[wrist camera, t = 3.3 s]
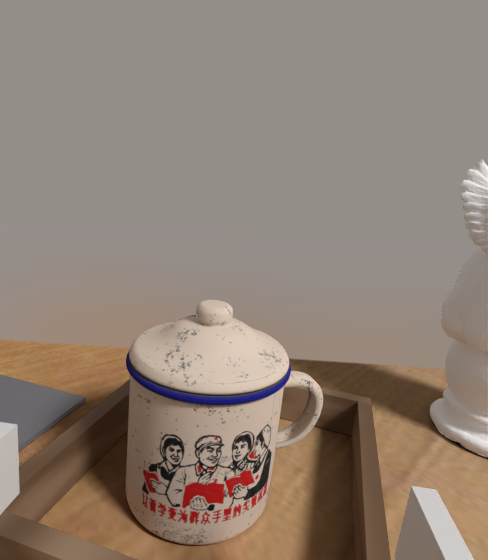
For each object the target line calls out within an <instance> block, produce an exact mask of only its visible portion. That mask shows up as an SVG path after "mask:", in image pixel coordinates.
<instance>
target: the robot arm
mask: <svg viewBox="0 0 488 560" xmlns="http://www.w3.org/2000/svg"><path fill="white" fill-rule="evenodd" d="M19 493H20V489H19V458H18V427H17V424H11V423H4V422H0V515H1V514H2V512H3V511H4V510H5V509H6V508H7V507H8V506H9V505H10V503H11V502H12V501H13V500H14V499H15V498H16V497H17V496H18V494H19ZM395 559H396V560H474V559H473V557H472V555H471V553H470V551H469V549H468V548H467V546H466V544H465V542H464V540H463V538H462V537H461V535H460V533H459V531H458V529H457V527H456V525H455V524H454V522H453V520H452V518H451V516H450V514H449V512H448V511H447V509H446V507H445V505H444V503H443V501H442V500H441V498H440V496H439V494H438V492H437V490H434V489H428V488H422V487H415V486H411V490H410V494H409V498H408V502H407V506H406V511H405V515H404V519H403V523H402V527H401V532H400V536H399V540H398V544H397V548H396V553H395Z"/></svg>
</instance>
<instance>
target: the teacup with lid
mask: <svg viewBox="0 0 488 560" xmlns="http://www.w3.org/2000/svg"><path fill="white" fill-rule="evenodd" d="M232 315H233V309H232V307H231V306H230V304H228V303H226V302H223V301H218V300H206V301H202V302H201V303H200V304H199V305H198V306H197V310H196V315H192V316H188V317H185V318H182V319H180V320H178V321H176V322H170V323H165V324H161V325H158V326H155V327H153V328H151V329H148V330H146V331H145V332H143V333H142V334H141V335H139V336H138V337H137V338H136V340H135V341H134V342H133V344H132V345H131V347H130V350H129V352H128V354H127V358H126V366H127V369H128V371H129V373H130V393H129V417H128V441H127V465H126V497H127V501H128V504H129V507H130V509H131V511H132V513H133V514H134V516H135V517H136V519H137V520H138V521H139V522H140V523H141V524H142V525H143V526H144V527H145V528H146V529H148V530H149V531H150V532H152V533H154V534H155V535H157V536H159V537H161V538H164V539H166V540H169V541H172V542H176V543H180V544H187V545H207V544H214V543H218V542H222V541H225V540H228V539H230V538H233V537H235V536H237V535H239V534H241V533H242V532H244V531H245V530H247V529H248V528H249V527H250V526H251V525H252V524H253V523H254V522H255V521H256V520H257V519H258V518H259V516H260V515H261V514H262V512H263V510H264V508H265V506H266V503H267V500H268V496H269V490H270V483H271V475H272V468H273V461H274V454H275V449H279V448H284V447H288V446H291V445H293V444H295V443H297V442H299V441H300V440H302V439H303V438H304V437H305V436H306V435H307V434H308V433H309V432H310V431H311V430H312V428H313V427H314V426H315V424H316V422H317V420H318V418H319V416H320V414H321V410H322V406H323V393H322V390H321V388H320V386H319V385H318V384H317V382H316V381H315V380H314V379H313V378H312V377H310V376H309V375H307V374H305V373H303V372H299V371H291V367H290V363H289V358H288V355H287V353H286V351H285V349H284V348H283V347H282V346H281V344H280V343H279V342H277V341H276V340H275V339H273V338H272V337H270V336H269V335H267V334H265V333H263V332H261V331H258V330H256V329H253V328H250V327H249V326H247V325H246V324H244V323H243V322H241V321H239V320H236V319H234V318H232ZM289 387H302V388H306V389H308V399H307V403H306V406H305V408H304V410H303V412H302V413H301V415H300V416H299V418H298V419H297V420H296V421H295V422H294V423H293V424H291V425H290V426H288V427H286V428H284V429H281V430H278V426H279V419H280V412H281V405H282V398H283V391H284V388H289Z"/></svg>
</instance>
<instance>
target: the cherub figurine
mask: <svg viewBox="0 0 488 560" xmlns="http://www.w3.org/2000/svg"><path fill="white" fill-rule="evenodd" d="M466 175H467V180H463V181H462V182H461V184H460V189H462V191H463V192H464V193H462V194H461V198H462V200H464V201H465V204H464V205H463V208H464V210H465V211H468V213H467V214H466V215H465V216H464V219H465V221H466V222H467V224H466V228H467V229H468V230H469V231H470V233H469V237H470V238H471V240H473V241H474V244H475V245H479V246H480V247H479V248H478V249H477V250H476V251H475V252H474V253H473V254H472V255H471V256H470V257H469V258H468V260H467V261H466V262H465V264H464V265H463V267H462V269H461V271H460V273H459V275H458V278H457V281H456V284H455V286H454V288H453V289H452V291H451V292H450V294H449V295H448V296H447V298H446V299H445V301H444V303H443V306H442V319H441V323H442V328H443V330H444V332H445V333H446V334H447V335H448V336H449V337H451V338H454V339H455V341H454V342H453V344H452V345H451V347H450V349H449V351H448V354H447V358H446V378H447V382H448V385H449V386H448V387H446V388H445V390H444V392H443V398H440V399H438V400H436V401H434V402H433V403H432V404H431V406H430V416H431V419H433V420H432V421H433V422H434V424H435V426H436V427H437V429H438V431H439V432H440V433H441V434H443V435H444V436H445V437H446V438H447V437H448V438H449V439H451V440H452V441H454V442H455V441H456V442H459V443H460V444H462V446H464V447H465V448H466V449H468V450H471V451H472V452H475V453H477V454H478V455H481V456H484V457H487V458H488V166H487V165H486V164H484V161H483V160H481V161H480V162H479V163H478V164H477V165H476V166H475V167H474V170H473V169H470V170H468V171H467V173H466Z"/></svg>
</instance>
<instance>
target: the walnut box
mask: <svg viewBox="0 0 488 560" xmlns="http://www.w3.org/2000/svg"><path fill="white" fill-rule="evenodd" d="M320 388H321V390H322V393H323V406H322V410H321V414H320V416H319V418H318V420H317V422H316V424H315V427H319V428H323V429H327V430H331V431H335V432H339V433H343V434H347V435H351V437H352V486H353V536H354V560H391V558H390V550H389V542H388V534H387V526H386V518H385V510H384V502H383V494H382V486H381V478H380V470H379V461H378V453H377V445H376V437H375V429H374V421H373V413H372V405H371V398H368V397H363V396H359V395H354V394H350V393H345V392H341V391H336V390H332V389H327V388H323V387H320ZM129 393H130V380H129V381H128V382H126V383H125V384H124V385H122V386H121V387H120V388H119V389H117V390H116V391H115V392H114V393H112V394H111V395H110V396H109V397H107V398H106V399H105V400H104V401H102V402H101V403H100V404H99V405H97V406H96V407H95V408H94V409H92V410H91V411H90V412H89V413H87V414H86V415H85V416H84V417H82V418H81V419H80V420H79V421H77V422H76V423H75V424H74V425H72V426H71V427H70V428H69V429H67V430H66V431H65V432H64V433H62V434H61V435H60V436H59V437H57V438H56V439H55V440H53V441H52V442H51V443H50V444H48V445H47V446H46V447H45V448H43V449H42V450H41V451H40V452H38V453H37V454H36V455H35V456H33V457H32V458H31V459H30V460H28V461H27V462H26V463H25V464H23V465H22V466H21V467H20V468H19V489H20V493H19V494H18V496H17V497H16V498H15V499H14V500H13V501H12V502H11V503H10V505H9V506H8V507H7V508H6V509H5V510H4V511H3V512H2V514H1V515H0V560H137V559H134V558H132V557H129V556H126V555H124V554H121V553H118V552H116V551H113V550H110V549H107V548H105V547H102V546H99V545H97V544H94V543H91V542H89V541H86V540H83V539H81V538H78V537H75V536H72V535H70V534H67V533H64V532H62V531H59V530H56V529H54V528H51V527H48V526H46V525H43V524H40V523H37V522H38V521H39V520H40V519H41V518H42V517H43V516H44V515H45V514H46V513H47V512H48V511H49V510H50V509H51V508H52V507H53V506H54V505H55V504H56V503H57V502H58V501H59V500H60V499H61V498H62V497H63V496H64V495H65V494H66V493H67V492H68V491H69V490H70V489H71V488H72V487H73V485H74V484H75V483H76V482H77V481H78V480H79V479H80V478H81V477H82V476H83V475H84V474H85V473H86V472H87V471H88V470H89V469H90V468H91V467H92V466H93V465H94V464H95V463H96V462H97V461H98V460H99V459H100V458H101V457H102V456H103V455H104V454H105V453H106V452H107V451H108V450H109V449H110V448H111V447H112V446H113V445H114V444H115V443H116V442H117V441H118V440H119V439H120V438H121V437H122V436H123V434H124V433H125V432H126V431H127V430H128V417H129ZM307 399H308V389H306V388H302V387H289V388H284V391H283V398H282V405H281V412H280V418H283V419H287V420H291V421H296V420H297V419H298V418H299V416H300V415H301V413H302V412H303V410H304V408H305V406H306V403H307Z"/></svg>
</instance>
